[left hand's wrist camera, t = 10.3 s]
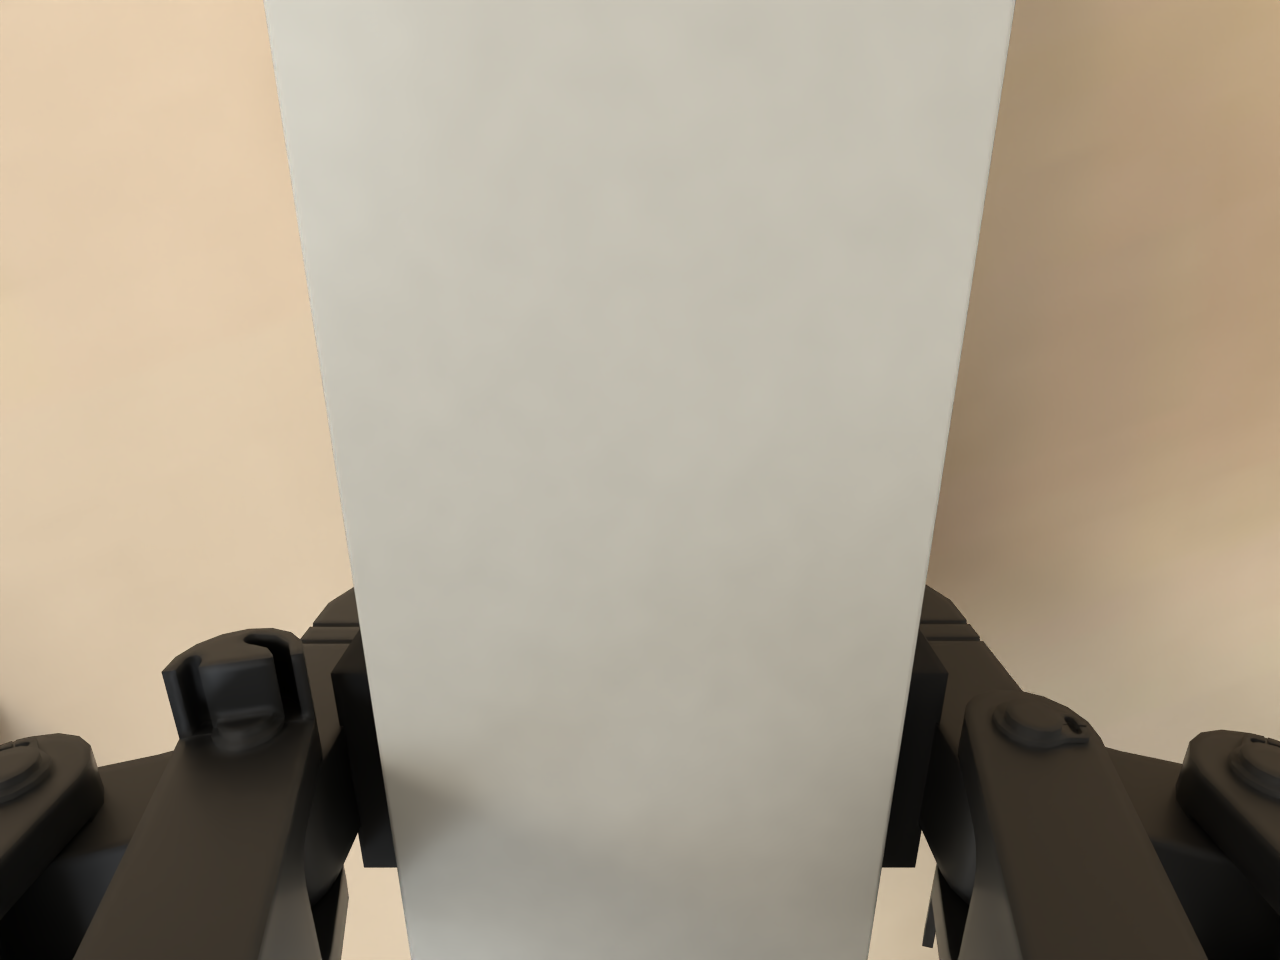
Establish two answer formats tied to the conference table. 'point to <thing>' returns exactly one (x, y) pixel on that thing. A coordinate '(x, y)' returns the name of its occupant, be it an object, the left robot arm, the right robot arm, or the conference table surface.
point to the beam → (639, 440)
